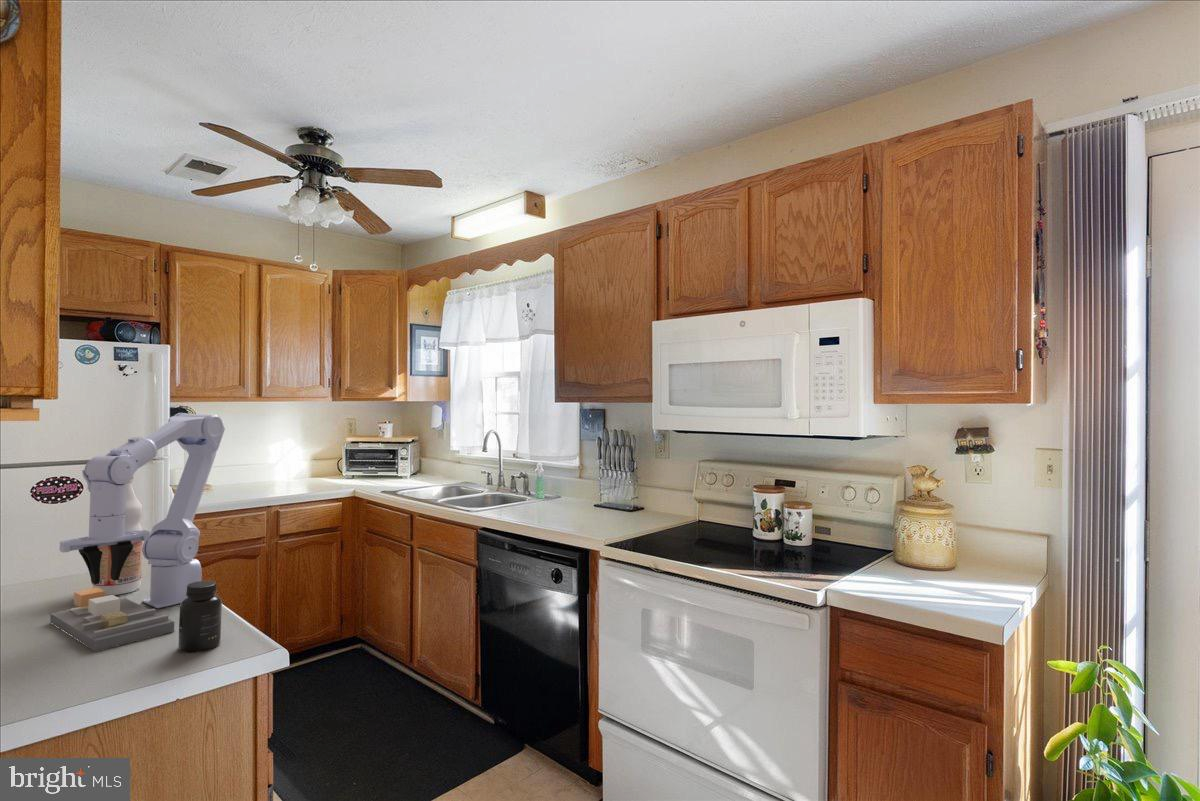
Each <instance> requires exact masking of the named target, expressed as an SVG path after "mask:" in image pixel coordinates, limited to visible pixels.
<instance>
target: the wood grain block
mask: <svg viewBox="0 0 1200 801" xmlns="http://www.w3.org/2000/svg"><path fill="white" fill-rule="evenodd" d="M127 620H128V615H127V614H125V613H123V612H121V611H115V612H111V613H106V614H102V615H101V628H103V629H106V628H110V627H115V626H119V625H123V624H127Z"/></svg>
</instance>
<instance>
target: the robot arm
mask: <svg viewBox="0 0 1200 801" xmlns="http://www.w3.org/2000/svg"><path fill="white" fill-rule="evenodd" d="M225 430H226V428H225V426H224V423H223V420H222V418H221V416H220V415H218V414H216V413H210V414H208V413H206V414H203V413H185V412H178V413H176V414H174V415H172V416H169V418H168V419H167V423H165V424H163V425H162V426H161V427H160V428H158V429H156V430H155V431H153V432H152V433H151V434H149V435H148V436H146V437H142V436H137V437H136V436H131V437H130V438H128V439H127V442H126V443H124V444H122V445H120V446H119V447H117V448H113V449H110V451H109V452H108V453H107V454H106V455H99V454H98V455H96V456H94V457H92V458H91V459H89V460H87V463H86V464H85V467H84V469H82V477H83V479H84V480H85V481H86V483H87V490H88V492H89V519H88V521H89V522H88V523H89V524H88V536H83V537H78V538H72V539H68V540H67V539H66V540H61V541H59V552H60V553H69V552H71V551H72V552H73V551H78V552H79V554H80V555H81V557H82V559H83V561H84V563H85V565H86V567H87V570H88V572H89V577H90V582H91V584H92V583H93V584H99V582H100V563H101V557H102V553H103V552H102V551H99V548H98V547H101V546H108V545H110V550H111V579H112V580H114V581H116V580H119V577H120V573H121V570H122V567H123V565H124V563H125V561H126V559H127V557H128V556H129V554H130V552H131V551H132V550H133V544H131V542H136V541H142V557H144V558H145V559H146V560H148V561H147V563H148V565H150V588H149V590H150V591H149V597H148V598H143V599H142V600H141V602H142V603H144V604H147V605H148V606H151V607H153V608H154V609H161V608H166V607H169V606H174V605H175V606H176V605H179V604H181V603H182V601H183V600H184V599H186V598H188V596H186V592H187V585H188V584H190V583H193V582H197V581H203V580H202V577H203V576H202V575H203V574H202V572H203V570H202V564H201V562H200V560H198V559H197V558H195V557H196V555H197V553H198V551H199V545H200V544H199V539H200V535H201V531H200V530H199V529H198V527H197V526H196V525H195V524H194V523H193V522H194V519H195V516H196V513H197V510H198V507H199V504H200V501H201V499H202V497H203V493H204V490H205V488H206V484H207V482H208V479H209V475H210V473H211V470H212V467H213V464H214V461H215V458H216V455H217V452H218V450H219V448H220V444H221V442H222V438H223V436H224V433H225ZM173 442H174V443H175V442H177V443H178V444H179V446H180V447H181V448H182V450H183V451H185V452H187V454H188V457H187V460H186V463H185V465H184V469H183V470H182V474H181V476H180V479H179V481H178V485H177V487H176V490H175V493H174V496H173V499H172V501H171V503H170V506H169V509H168V512H167V515H166V517H165V518H164V519H163V520H161V521H160V522H158V523H155V525H153V526H152V528H151V531H150V530H147V529H142V531H132V532H124V530H125V500H126V482H129V481H130V480H131V479H132V477H133V478H134V475H135V473H136V472H137V471H138V469H140V468H141V467H143V466H144V465H146V464H147V463H150V462H151V461H153V460H155V458H156V456H157V453H158V452H157V451H159V450H161V449H163V448H164V447H166V446H168V445H170V444H172V443H173ZM98 543H101V544H98Z"/></svg>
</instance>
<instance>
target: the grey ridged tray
mask: <svg viewBox="0 0 1200 801" xmlns="http://www.w3.org/2000/svg"><path fill="white" fill-rule="evenodd" d="M88 608H89V606H87V607H82V608H81V607H79V606H77V607H72V608H69V609H65V610H61V611H56V612H51V613H50V617H49V618H50V621H49V622H51V623H53V624H54V625H56V626H57V627H59V628H60V629H62V630H64V631H65V632H67V633H68V634H70V635H72V636H73V637H75V638H76V639H78V640H79V641H81V642H82V643H84V644H85V645H87V646H88V647H87V646H86V647H87V648H89V647H90V648H91V649H90V648H89V649H90V650H92V649H93V650H94V652H95V651H96V652H99V651H98V650H100V651H103V650H102V649H104V650H107V649H111V648H114V647H113V646H115V647H118V646H117V645H119V646H123V645H126V644H125V643H127V644H130V642H131V643H134V642H133V641H135V642H138V641H137V640H139V641H142V639H143V640H146V639H150V638H154V637H158V636H161V634H162V635H166V634H169V632H170V633H173V631H174V632H175V621H174V620H172V619H170V618H169V615H168V614H162V615H161V614H159V613H157V611H156V608H151V609H150V608H148V607H145V606H143V605H142V604H141V605H140V604H138V603H137V602H135V601H133V600H131V599H129V598H125V597H124V598H120V611H121V612H123V613H125V614H127V615H128V620H127V624H123V625H119V626H115V627H110V628H106V629H103V628H101V615H98V616H95V615H93V614H91V613H90V612H88ZM51 623H50V624H51ZM54 625H53V626H54ZM56 626H55V627H56ZM57 627H56V628H57ZM59 628H58V629H59ZM60 629H59V630H60ZM62 630H61V631H62ZM65 632H64V633H65ZM67 633H66V634H67ZM165 633H166V634H165ZM68 634H67V635H68ZM70 635H69V636H70ZM153 636H154V637H153ZM73 637H72V638H73ZM149 637H150V638H149ZM76 639H75V640H76ZM78 640H77V641H78ZM79 641H78V642H79ZM81 642H80V643H81ZM82 643H81V644H82ZM84 644H83V645H84ZM122 644H123V645H122ZM85 645H84V646H85ZM110 647H111V648H110ZM106 648H107V649H106ZM93 650H92V651H93Z"/></svg>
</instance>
